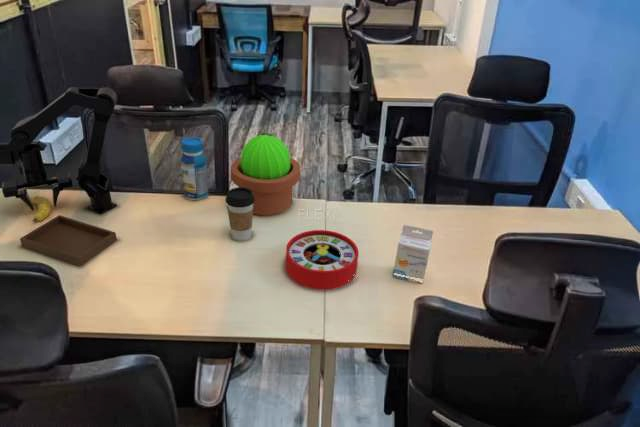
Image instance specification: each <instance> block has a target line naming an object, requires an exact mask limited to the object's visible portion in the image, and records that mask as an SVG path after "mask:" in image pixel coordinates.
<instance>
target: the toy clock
mask: <svg viewBox="0 0 640 427" xmlns="http://www.w3.org/2000/svg"><path fill="white" fill-rule="evenodd" d="M339 253H340V254H339ZM358 260H359V248H358V246H357V244H356V243H355V242H354V241H353V240H352V239H351V238H350V237H348V236H346V235H344V234H342V233H339V232H337V231H332V230H325V229H314V230H312V229H311V230H307V231H303V232H300V233H299V234H296V235H295V236H293V237H292V238H291V239H290V240H289V241H288V242H287V244H286V248H285V272H286V274H287V276H289V278H290V279H291V280H292V281H293V282H295V283H296V284H298V285H299V286H301V287H305V288H308V289H311V290H318V291H329V290H336V289H339V288H342V287H345V286H346V285H348V284H350V283H351V282H352V281H353V280H354V279H355V277H356V275H357V271H356V270H358V262H359V261H358ZM355 272H356V273H355ZM354 274H355V275H354ZM353 275H354V276H353ZM348 280H349V281H348Z"/></svg>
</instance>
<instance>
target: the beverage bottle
mask: <svg viewBox="0 0 640 427" xmlns="http://www.w3.org/2000/svg"><path fill="white" fill-rule="evenodd" d="M180 144H181V151H182V152H183V153H182V154H181V157H180V163H181V166H180V170H181V173H182V174H181V175H182V183H183V195H184V197H185V198H186V199H187V200H190V201H199V200H203V199H205V198H207V197H208V196H209V193H210V192H209V182H208V164H207V157H206V155H205V153H204V152H203V151H204V142H203V139H202V138H200V137H198V136H190V137H189V136H188V137H186V138H183V139H182V140H181V143H180Z"/></svg>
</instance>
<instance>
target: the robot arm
mask: <svg viewBox="0 0 640 427" xmlns="http://www.w3.org/2000/svg"><path fill="white" fill-rule="evenodd" d="M117 101H118V94H117V92H116V91H115V90H114V89H112V88H110V87H107V86H105V87H101V88H98V87H76V86H71V87H69V88H67V90H66V91H65V92H63V93H62V94H61V95H60V96H59V97H57V98H56V99H55V100H52V102H50V103H49V104H48V105H47V106H45V107H44V108H43V109H42V110H39V112H37V113H35V114H34V115H30V116H28V117H26V118H23V119H22V120H19V121H18V122H17V123H16V124H15V125H14V127H13V128H12V129H11V131H10V140H9V141H8V142H0V167H1V166H15V165H16V163H17V162H20V164H17V167H18V172H19V175H20V176H23V175H24V179H25V182H21V183H18V180H17V179H13V180H7V181H3V182H2V183H1V191H2V195H3V198H6V199H7V198H13V197H14V198H15V199H20V200H21V201H22V202H24V204H26V205H27V207H28V208H30V210H31V211H32V212H35V208H34V203H32V202H31V200H30V199H31V197H30V195H29V193H28V189H29V190H30V189H34V188H42V187H48V186H51V190H52V191H51V192H52V202H53V206H54V208H56V207H57V203H58V198H59V195H60V193H61V192H62V191H64V189H67V188H72V187H73V186H74V185H73V180H72V177H71V176H72V175H71V173H70V172H68V171H65V172H58V173H55V177H54V176H53V177H51V178H48V174H47V170H46V168H45V164H44V161H43V157H42V152H44V151H45V150H46V149H47V146H48V144H46V143H45V142H42V141H41V140H40V139H39V140H37V141H36V142H34V141H35V139H36V138H38V136H39V135H40V134H41V133H42V131H43V130H44V129H45V128H46V127H47V126H49V125H50V124H51V123H52V122H54V121H55V120H56V119H58V118H59V117H61V116H62V115H63V114H64V113H65V112H67V111H68V110H70V109H71V108H72V107H73V106H79V107H81V108H84V109H88V110H93V111H92V113H93V126H92V130H91V135H90V141H89V145H88V151H87V157H86V160H83V159H81V160H80V163H79V166H78V168H77V169H78V170H77V176H76V178H75V180H76V181H77V185H78V187H80V189H82V190H83V191H85V193H86V195H87V196H88V197H89V200H90V205H88V206H87V209H89V210H90V211H92V212H95V213H97V214H99V215H101V214H104V213H105V212H108V211H109V210H112V209H114V208H116V207H117V206H118V205H117V203H114V202H113V201H112V196H111V191H110V188H109V187H108V186H109V183H110V177H109V176H107V175H105V174H104V173H102V164H101V163H102V162H101V158H102V154H103V150H104V143H105V140H106V139H105V138H106V135H107V134H106V133H107V129H108V124H109V121H110V119H111V117H112V114H113V112H114V110H115V106H116V104H117Z"/></svg>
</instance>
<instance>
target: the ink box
mask: <svg viewBox="0 0 640 427" xmlns="http://www.w3.org/2000/svg"><path fill="white" fill-rule="evenodd" d="M417 231H418V232H419V233H418V232H417ZM433 234H434V231H433V230H431V229H426V228H422V227H418V226H413V225H408V224H403V225H402V231H401V234H400V237H399V241H398V244H397V250H396V255H395V261H394V267H393V272H394V273H397V274H401V275H405V276H409V277H415V278H420V279H425V275H426V271H427V267H428V262H429V257H430V252H431V249H432V248H431V247H432V243H433V241H432V239H433ZM392 277H393V278H396V279H400V280H404V281H408V282H412V283H415V284H416V283H417V284H419V283H418V282H419V281H416V280H415V281H414V279H410V278H406V277H401V276H397V275H394V274H393V273H392Z"/></svg>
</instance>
